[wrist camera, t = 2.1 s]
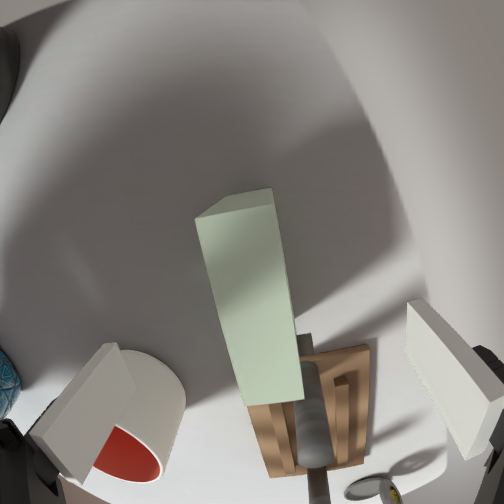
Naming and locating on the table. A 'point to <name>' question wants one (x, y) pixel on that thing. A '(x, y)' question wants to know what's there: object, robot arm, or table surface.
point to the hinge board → (356, 410)
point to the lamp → (8, 385)
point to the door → (254, 296)
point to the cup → (144, 423)
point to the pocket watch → (374, 491)
